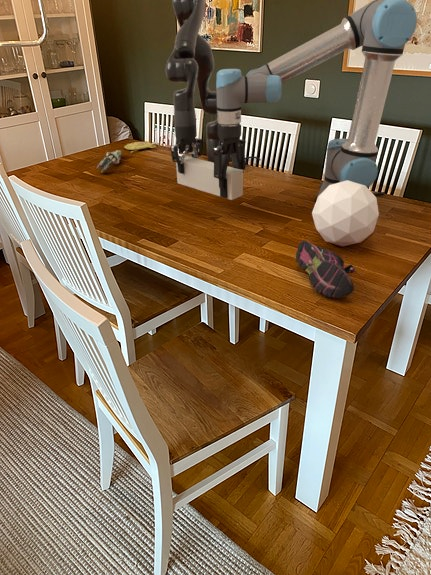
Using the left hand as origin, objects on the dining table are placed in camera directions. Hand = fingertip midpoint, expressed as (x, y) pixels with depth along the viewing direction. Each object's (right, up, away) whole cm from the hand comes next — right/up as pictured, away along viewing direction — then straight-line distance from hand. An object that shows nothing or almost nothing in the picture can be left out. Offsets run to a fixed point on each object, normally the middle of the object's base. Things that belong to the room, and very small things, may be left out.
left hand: (188, 170), depth 161 cm
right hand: (+15, -11, -10) cm, 21 cm away
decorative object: (-31, +33, +79) cm, 91 cm away
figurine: (-41, +17, +53) cm, 69 cm away
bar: (+8, -7, -4) cm, 11 cm away
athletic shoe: (+41, -41, -41) cm, 71 cm away
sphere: (+50, -28, -21) cm, 61 cm away
